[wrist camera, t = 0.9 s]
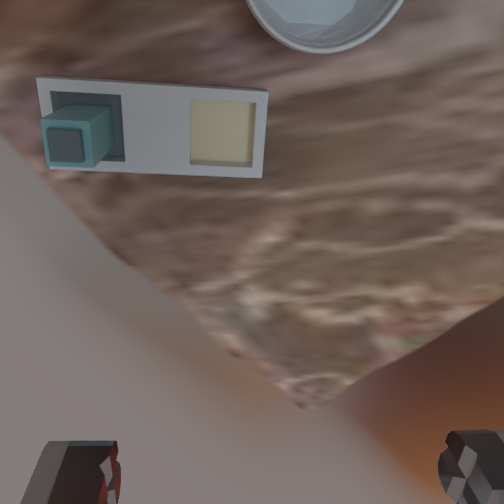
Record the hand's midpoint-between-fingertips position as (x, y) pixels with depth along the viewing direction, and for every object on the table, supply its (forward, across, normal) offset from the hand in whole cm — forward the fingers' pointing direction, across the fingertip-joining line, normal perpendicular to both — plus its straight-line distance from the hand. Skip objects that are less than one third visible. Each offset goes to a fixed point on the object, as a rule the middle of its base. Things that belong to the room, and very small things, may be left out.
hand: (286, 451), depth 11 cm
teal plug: (+35, +13, -1) cm, 38 cm away
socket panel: (+36, +7, -1) cm, 36 cm away
